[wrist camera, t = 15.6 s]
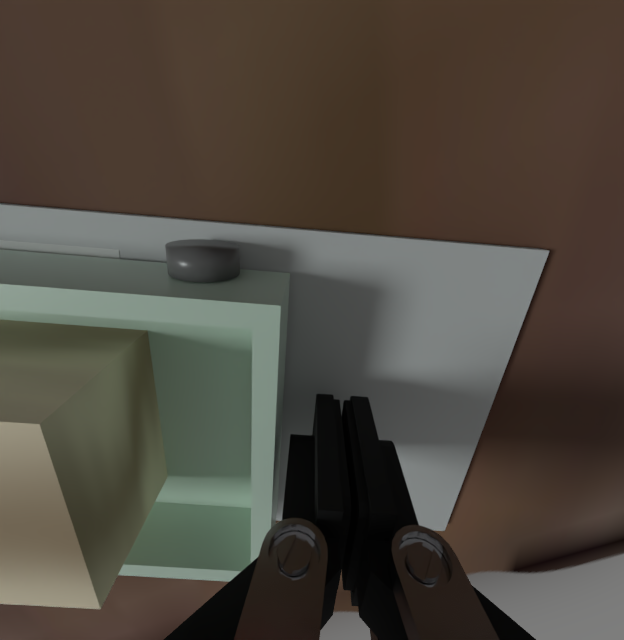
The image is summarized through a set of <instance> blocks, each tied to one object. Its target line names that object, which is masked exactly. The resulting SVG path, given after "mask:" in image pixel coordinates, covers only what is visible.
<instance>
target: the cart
mask: <svg viewBox="0 0 624 640" xmlns="http://www.w3.org/2000/svg"><path fill="white" fill-rule="evenodd" d="M165 250H166V259H167V263H160V262H148V261H135V260H123V259H111V258H98V257H86V256H74V255H61V254H49V253H37V252H24V251H12V250H0V320H14V321H27V322H41V323H54V324H67V325H81V326H94V327H108V328H121V329H134V330H148V337H149V345H150V352H151V359H152V366H153V373H154V381H155V388H156V395H157V402H158V409H159V417H160V424H161V431H162V438H163V445H164V453H165V460H166V467H167V474H168V477H167V479H166V481H165V483H164V485H163V487H162V489H161V491H160V493H159V495H158V497H157V499H156V501H155V503H154V505H153V507H152V509H151V511H150V513H149V514H148V516H147V518H146V520H145V522H144V524H143V526H142V528H141V530H140V532H139V534H138V536H137V538H136V540H135V542H134V544H133V546H132V548H131V550H130V552H129V554H128V556H127V558H126V560H125V562H124V564H123V566H122V568H121V570H120V572H119V574H118V575H127V576H144V577H161V578H179V579H196V580H213V581H231V580H232V579H233V578H234V577H236V576H237V575H238V574H239V573H240V572H241V571H242V570H244V569H245V568H246V567H247V566H248V565H249V564H250V563H252V562H253V561H254V560H255V559H256V558H257V557H258V556H259V553H260V549H261V546H262V543H263V541H264V538H265V536H266V534H267V532H268V531H269V530H270V529H271V528H272V527H273V526H274V525H275V523H276V515H277V504H278V486H279V468H280V449H281V431H282V413H283V394H284V376H285V358H286V339H287V321H288V303H289V284H290V273H283V272H271V271H259V270H246V269H240V246H239V245H237V244H235V243H231V242H226V241H219V240H207V239H189V240H178V241H172V242H169V243H167V244H165Z"/></svg>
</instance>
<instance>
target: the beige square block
mask: <svg viewBox="0 0 624 640" xmlns="http://www.w3.org/2000/svg"><path fill="white" fill-rule="evenodd" d="M167 477H168V474H167V467H166V460H165V453H164V445H163V438H162V431H161V424H160V417H159V409H158V402H157V395H156V388H155V381H154V373H153V366H152V359H151V352H150V345H149V337H148V330H134V329H121V328H108V327H94V326H81V325H67V324H54V323H41V322H27V321H14V320H0V604H14V605H33V606H51V607H69V608H87V609H101V607H102V605H103V603H104V602H105V600H106V598H107V596H108V594H109V592H110V590H111V588H112V586H113V584H114V582H115V580H116V578H117V576H118V574H119V572H120V570H121V568H122V566H123V564H124V562H125V560H126V558H127V556H128V554H129V552H130V550H131V548H132V546H133V544H134V542H135V540H136V538H137V536H138V534H139V532H140V530H141V528H142V526H143V524H144V522H145V520H146V518H147V516H148V514H149V513H150V511H151V509H152V507H153V505H154V503H155V501H156V499H157V497H158V495H159V493H160V491H161V489H162V487H163V485H164V483H165V481H166V479H167Z"/></svg>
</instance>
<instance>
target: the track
mask: <svg viewBox="0 0 624 640" xmlns="http://www.w3.org/2000/svg"><path fill="white" fill-rule="evenodd" d="M189 239H207V240H219V241H226V242H231V243H235V244H237V245H239V246H240V269H246V270H259V271H271V272H283V273H290V284H289V303H288V321H287V339H286V358H285V376H284V394H283V413H282V431H281V449H280V468H279V486H278V504H277V515H276V520H279V521H282V513H283V503H284V493H285V483H286V473H287V463H288V453H289V443H290V434H297V435H312V433H313V423H314V413H315V403H316V394H331V395H333V397H334V399H338V400H340V407H341V416H342V410H343V403H344V400H350V397H351V396H361V397H368V399H369V402H370V406H371V410H372V414H373V418H374V422H375V426H376V430H377V434H378V438H379V440H389V441H392V442H393V443H394V446H395V448H396V452H397V455H398V458H399V462H400V465H401V468H402V471H403V475H404V478H405V481H406V484H407V488H408V491H409V494H410V498H411V501H412V504H413V507H414V511H415V514H416V517H417V521H418V524H419V525H421V526H424V527H426V528H429V529H431V530H438V531H445V529H446V526H447V523H448V521H449V518H450V515H451V513H452V510H453V507H454V505H455V502H456V499H457V497H458V494H459V491H460V489H461V486H462V483H463V481H464V478H465V475H466V473H467V470H468V467H469V465H470V462H471V459H472V457H473V454H474V451H475V449H476V446H477V443H478V441H479V438H480V435H481V433H482V430H483V427H484V425H485V422H486V419H487V417H488V414H489V411H490V409H491V406H492V403H493V401H494V398H495V395H496V393H497V390H498V387H499V385H500V382H501V379H502V377H503V374H504V371H505V369H506V366H507V363H508V361H509V358H510V355H511V353H512V350H513V347H514V345H515V342H516V339H517V337H518V334H519V331H520V329H521V326H522V323H523V321H524V318H525V315H526V313H527V310H528V307H529V305H530V302H531V299H532V297H533V294H534V291H535V289H536V286H537V283H538V281H539V278H540V275H541V273H542V270H543V267H544V265H545V262H546V259H547V257H548V254H549V250H545V249H538V248H526V247H514V246H502V245H491V244H479V243H467V242H455V241H443V240H431V239H420V238H408V237H396V236H384V235H372V234H360V233H349V232H337V231H325V230H313V229H301V228H289V227H277V226H266V225H254V224H242V223H230V222H218V221H206V220H195V219H183V218H171V217H159V216H147V215H135V214H124V213H112V212H100V211H88V210H76V209H64V208H53V207H41V206H29V205H17V204H5V203H0V250H12V251H24V252H37V253H49V254H61V255H74V256H86V257H98V258H111V259H123V260H135V261H148V262H160V263H167V259H166V250H165V244H167V243H169V242H172V241H178V240H189Z"/></svg>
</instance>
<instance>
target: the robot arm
mask: <svg viewBox="0 0 624 640" xmlns="http://www.w3.org/2000/svg"><path fill="white" fill-rule="evenodd" d="M341 569H342V581H343V589H344V590H351V602H352V606H358V608H359V616H360V618H361V619H362V620H363V621H364V622H365V623H366V625H367V626H368V627H369V628H370V634H371V640H536V639H534V638H533V637H532V636H531V635H530V634H529V633H528V632H526V631H525V630H524V629H523V628H522V627H520V626H519V625H518V624H517V623H516V622H515V621H513V620H512V619H511V618H510V617H509V616H507V615H506V614H505V613H504V612H503V611H502V610H500V609H499V608H498V607H497V606H496V605H494V604H493V603H492V602H491V601H490V600H489V599H487V598H486V597H485V596H484V595H483V594H481V593H480V592H479V591H478V590H477V589H476V588H474V587H473V586H472V585H471V583H470V581H469V579H468V577H467V576H466V574H465V572H464V570H463V568H462V566H461V564H460V562H459V560H458V558H457V556H456V554H455V553H454V551H453V550H452V548H451V547H450V545H449V544H448V543H447V542H446V541H445V540H444V539H443V538H442V537H441V536H440V535H439V534H437V533H436V532H434V531H433V530H431V529H429V528H426V527H424V526H421V525H419V524H418V521H417V517H416V514H415V511H414V507H413V504H412V501H411V498H410V494H409V491H408V488H407V484H406V481H405V478H404V475H403V471H402V468H401V465H400V462H399V458H398V455H397V452H396V448H395V446H394V443H393V442H392V441H389V440H379V438H378V434H377V430H376V426H375V422H374V418H373V414H372V410H371V406H370V402H369V399H368V397H361V396H351V397H350V400H344V403H343V410H342V416H341V407H340V400H338V399H334V397H333V395H331V394H316V403H315V413H314V423H313V433H312V435H297V434H290V443H289V453H288V463H287V473H286V483H285V493H284V503H283V513H282V521H280V522H278V523H277V524H275V525H274V526H273V527H272V528H271V529H270V530H269V531H268V532H267V534H266V536H265V538H264V541H263V543H262V546H261V549H260V553H259V556H258V557H257V558H256V559H255V560H254V561H253V562H252V563H250V564H249V565H248V566H247V567H246V568H245V569H244V570H242V571H241V572H240V573H239V574H238V575H237V576H236V577H234V578H233V579H232V580H231V581H230V582H229V583H228V584H227V585H225V586H224V587H223V588H222V589H221V590H220V591H219V592H217V593H216V594H215V595H214V596H213V597H212V598H211V599H209V600H208V601H207V602H206V603H205V604H204V605H203V606H201V607H200V608H199V609H198V610H197V611H196V612H195V613H193V614H192V615H191V616H190V617H189V618H188V619H187V620H186V621H184V622H183V623H182V624H181V625H180V626H179V627H178V628H176V629H175V630H174V631H173V632H172V633H171V634H170V635H168V636H167V637H166V638H165V639H164V640H319V637H320V630H321V629H322V628H323V626H324V625H325V624H326V623H327V621H328V620H329V619H330V617H331V616H332V615H333V610H334V604H335V599H336V593H337V590H338V585H339V580H340V575H341Z"/></svg>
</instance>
